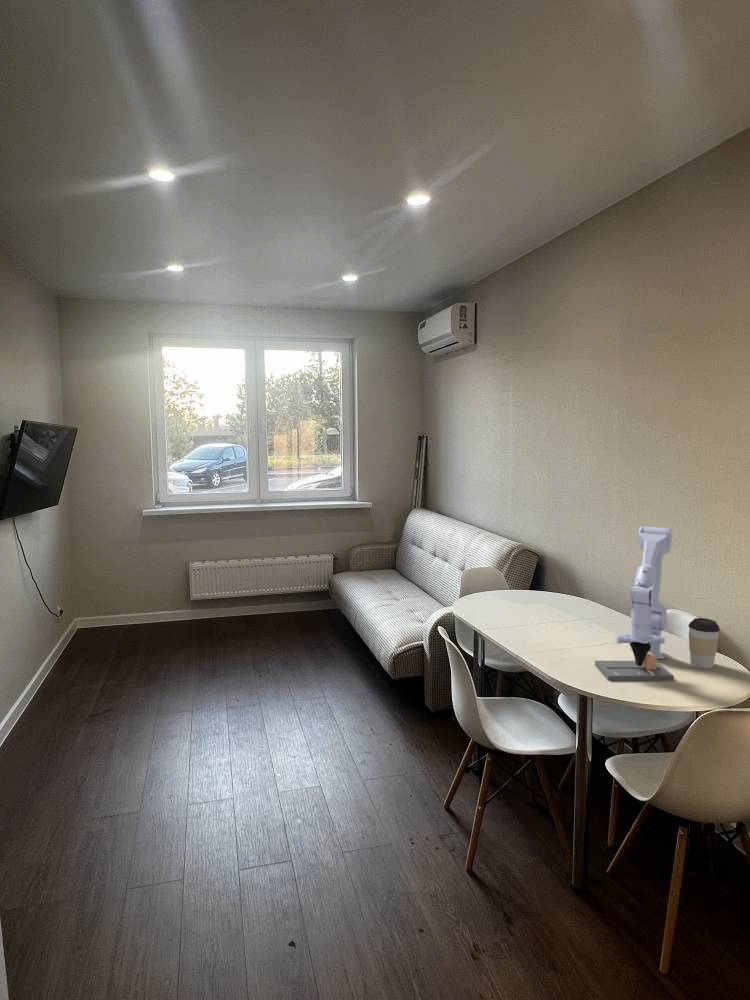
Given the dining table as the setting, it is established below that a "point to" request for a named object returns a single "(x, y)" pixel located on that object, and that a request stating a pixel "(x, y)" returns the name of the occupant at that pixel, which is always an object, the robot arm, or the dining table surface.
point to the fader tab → (650, 661)
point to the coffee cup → (703, 642)
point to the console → (632, 671)
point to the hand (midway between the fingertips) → (638, 664)
